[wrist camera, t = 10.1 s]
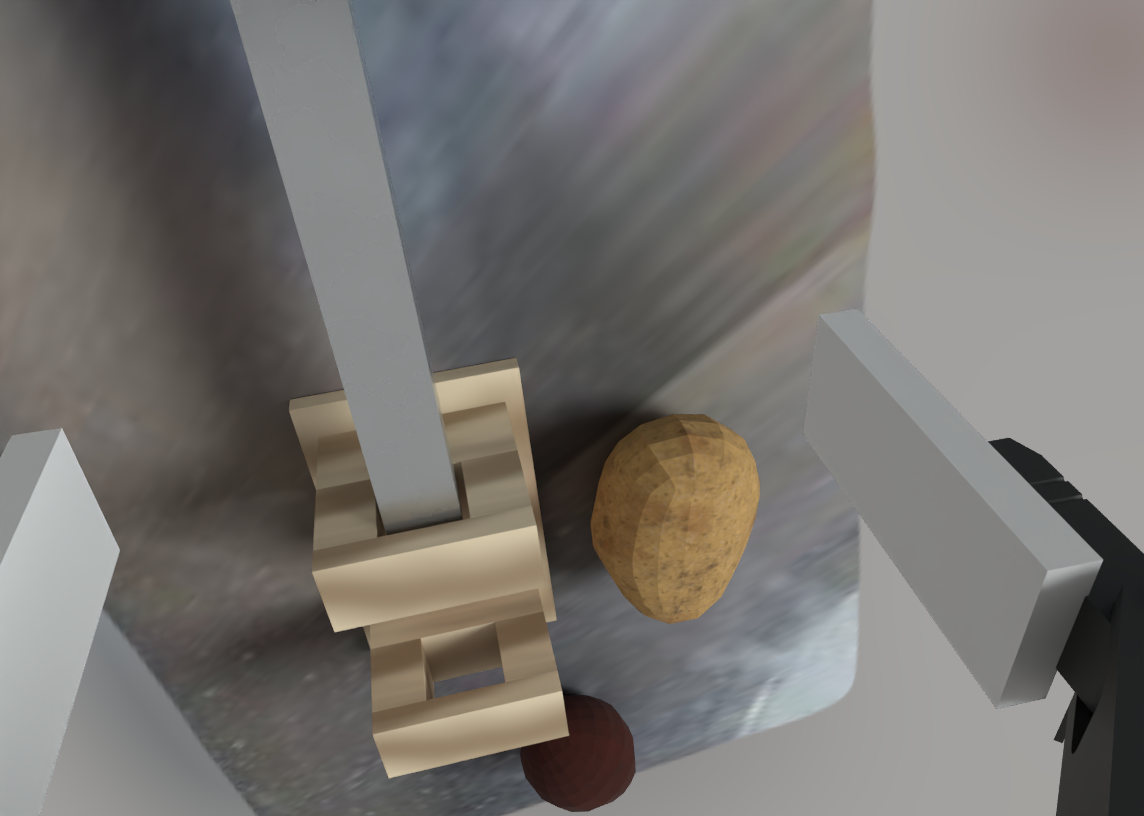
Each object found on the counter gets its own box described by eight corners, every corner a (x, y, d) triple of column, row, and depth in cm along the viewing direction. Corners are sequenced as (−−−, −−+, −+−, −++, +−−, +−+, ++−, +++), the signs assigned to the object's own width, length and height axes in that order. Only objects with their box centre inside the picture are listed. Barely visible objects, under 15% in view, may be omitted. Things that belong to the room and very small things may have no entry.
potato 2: (575, 651, 62) (600, 746, 56) (644, 705, 68) (674, 798, 61) (485, 708, 64) (500, 807, 58) (559, 757, 69) (580, 853, 63)
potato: (576, 566, 58) (605, 664, 51) (575, 386, 50) (609, 475, 43) (720, 545, 59) (765, 637, 53) (741, 366, 51) (798, 449, 45)
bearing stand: (289, 399, 46) (275, 543, 37) (515, 357, 48) (553, 487, 39) (374, 648, 58) (378, 802, 49) (553, 608, 59) (589, 752, 51)
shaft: (200, -82, 30) (176, -60, 26) (356, -101, 30) (357, -83, 26) (373, 501, 45) (375, 575, 41) (474, 481, 46) (487, 551, 41)
